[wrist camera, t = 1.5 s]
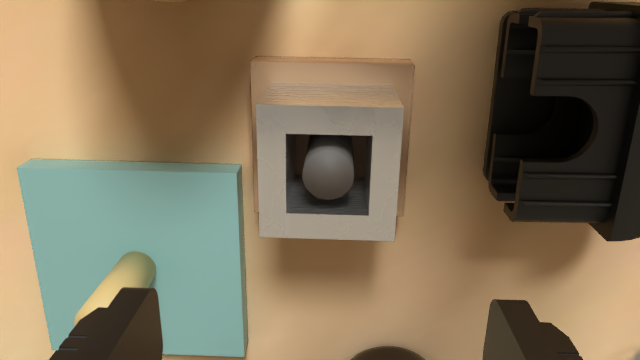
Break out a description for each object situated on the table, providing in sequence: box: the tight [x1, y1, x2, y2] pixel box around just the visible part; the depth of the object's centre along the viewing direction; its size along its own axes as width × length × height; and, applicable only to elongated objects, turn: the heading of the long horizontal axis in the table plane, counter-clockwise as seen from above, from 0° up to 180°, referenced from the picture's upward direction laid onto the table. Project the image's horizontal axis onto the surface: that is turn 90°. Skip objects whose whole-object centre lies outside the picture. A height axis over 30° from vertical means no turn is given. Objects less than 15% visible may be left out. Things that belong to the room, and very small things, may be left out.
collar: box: [256, 83, 404, 241], centre depth 25 cm, size 6×6×5 cm
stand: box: [250, 56, 415, 216], centre depth 26 cm, size 8×8×7 cm
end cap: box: [483, 2, 640, 241], centre depth 25 cm, size 10×7×7 cm
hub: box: [17, 159, 248, 357], centre depth 29 cm, size 12×12×7 cm
